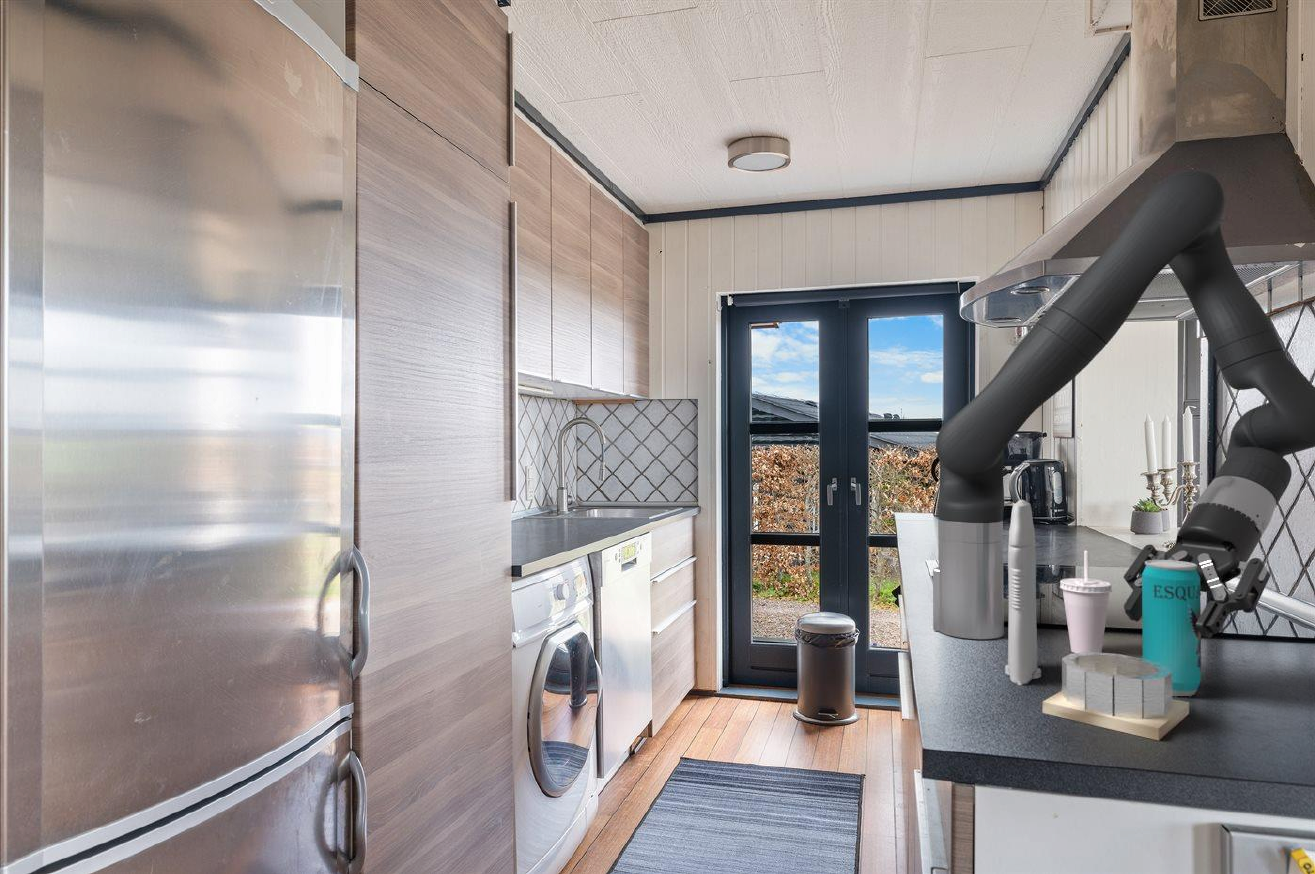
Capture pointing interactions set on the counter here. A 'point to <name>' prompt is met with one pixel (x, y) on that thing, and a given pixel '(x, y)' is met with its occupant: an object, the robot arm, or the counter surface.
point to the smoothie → (1086, 610)
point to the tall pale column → (1022, 597)
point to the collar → (1117, 685)
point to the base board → (1118, 718)
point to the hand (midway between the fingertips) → (1165, 624)
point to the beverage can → (1173, 621)
